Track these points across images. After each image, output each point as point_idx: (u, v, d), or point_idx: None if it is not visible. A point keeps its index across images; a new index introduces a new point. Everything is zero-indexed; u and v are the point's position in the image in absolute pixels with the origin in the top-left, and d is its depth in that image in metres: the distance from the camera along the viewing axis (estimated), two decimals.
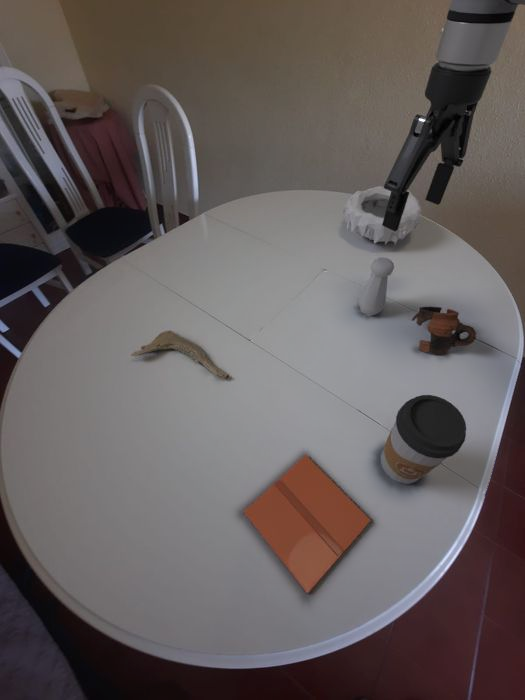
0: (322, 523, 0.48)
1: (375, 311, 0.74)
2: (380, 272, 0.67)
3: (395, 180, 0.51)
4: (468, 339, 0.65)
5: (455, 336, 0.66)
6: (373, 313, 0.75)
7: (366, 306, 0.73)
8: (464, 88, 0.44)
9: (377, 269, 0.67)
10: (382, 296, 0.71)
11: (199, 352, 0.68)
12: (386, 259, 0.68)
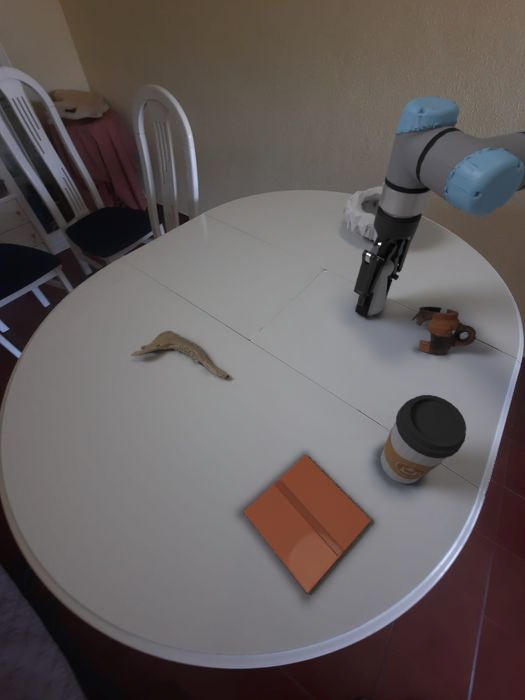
0: (322, 523, 0.48)
1: (375, 311, 0.74)
2: None
3: (360, 290, 0.67)
4: (468, 339, 0.65)
5: (455, 336, 0.66)
6: (373, 313, 0.75)
7: None
8: (400, 229, 0.58)
9: None
10: (382, 296, 0.71)
11: (199, 352, 0.68)
12: None
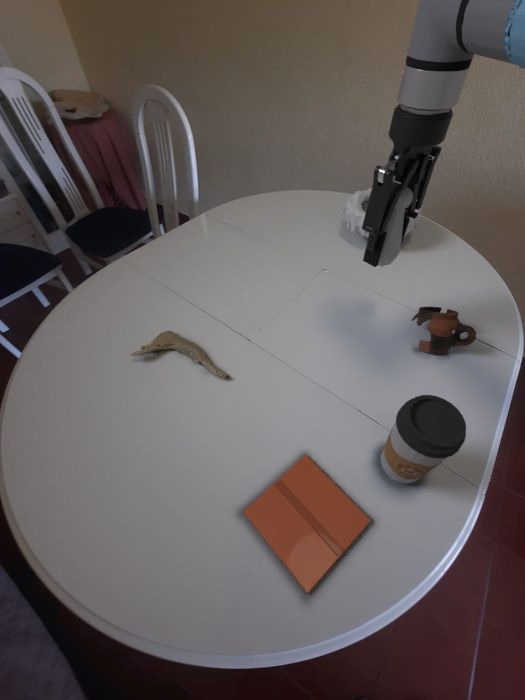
0: (322, 523, 0.48)
1: (388, 258, 0.60)
2: None
3: (370, 224, 0.53)
4: (468, 339, 0.65)
5: (455, 336, 0.66)
6: (385, 262, 0.61)
7: None
8: (425, 131, 0.44)
9: None
10: (397, 237, 0.58)
11: (199, 352, 0.68)
12: None
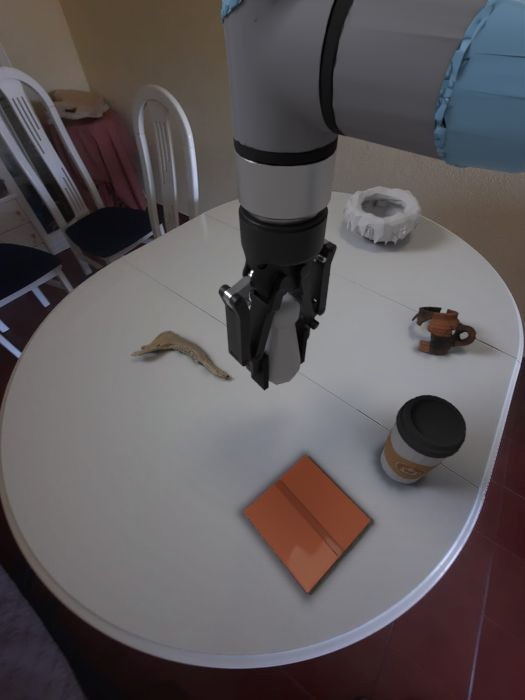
0: (322, 523, 0.48)
1: (281, 380, 0.43)
2: (273, 321, 0.36)
3: (235, 353, 0.36)
4: (468, 339, 0.65)
5: (455, 336, 0.66)
6: (280, 382, 0.44)
7: None
8: (279, 247, 0.27)
9: None
10: (288, 357, 0.41)
11: (199, 352, 0.68)
12: (286, 296, 0.37)
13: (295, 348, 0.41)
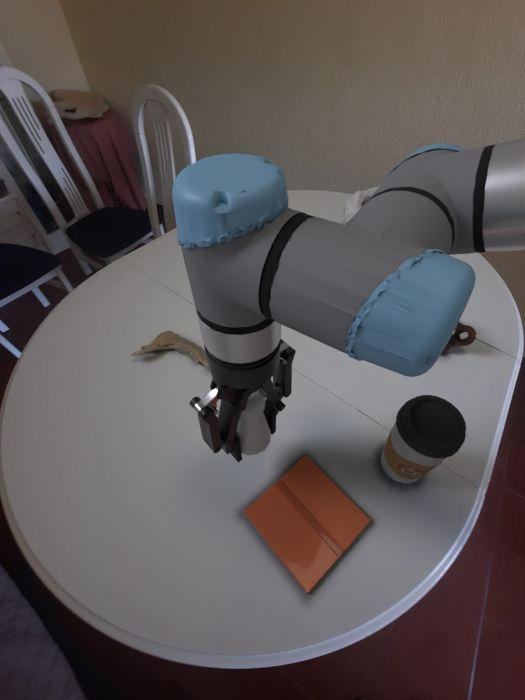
0: (322, 523, 0.48)
1: (253, 454, 0.48)
2: (241, 414, 0.41)
3: (208, 443, 0.41)
4: (468, 339, 0.65)
5: (455, 336, 0.66)
6: None
7: None
8: (238, 379, 0.32)
9: None
10: (258, 437, 0.46)
11: (199, 352, 0.68)
12: None
13: (264, 428, 0.46)
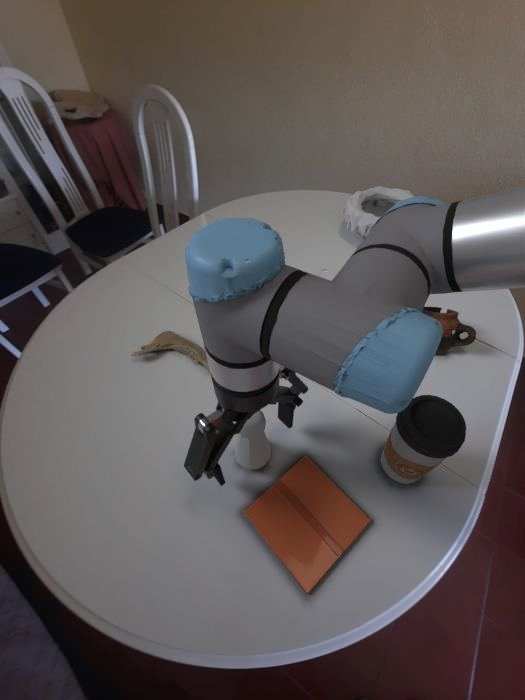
0: (322, 523, 0.48)
1: (254, 468, 0.52)
2: (244, 435, 0.45)
3: (191, 468, 0.42)
4: (468, 339, 0.65)
5: (455, 336, 0.66)
6: None
7: (240, 462, 0.52)
8: (241, 404, 0.35)
9: None
10: (259, 454, 0.50)
11: (199, 352, 0.68)
12: None
13: (264, 445, 0.50)
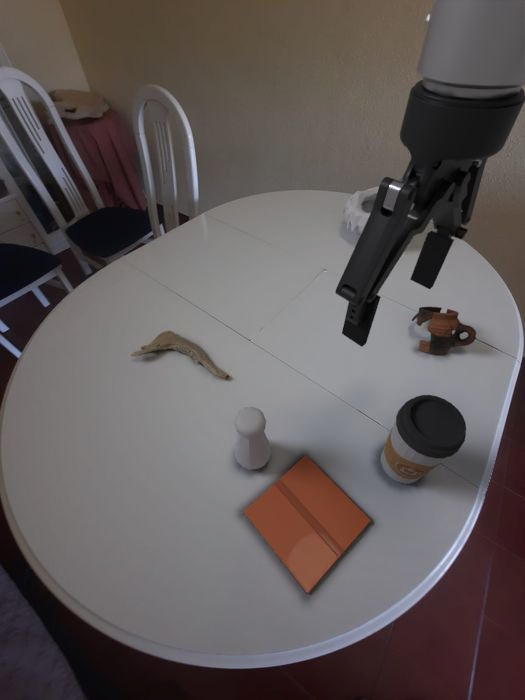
0: (322, 523, 0.48)
1: (254, 468, 0.52)
2: (244, 435, 0.45)
3: (353, 285, 0.29)
4: (468, 339, 0.65)
5: (455, 336, 0.66)
6: None
7: (240, 462, 0.52)
8: (475, 131, 0.23)
9: (239, 430, 0.45)
10: (259, 454, 0.50)
11: (199, 352, 0.68)
12: (254, 412, 0.46)
13: (264, 445, 0.50)
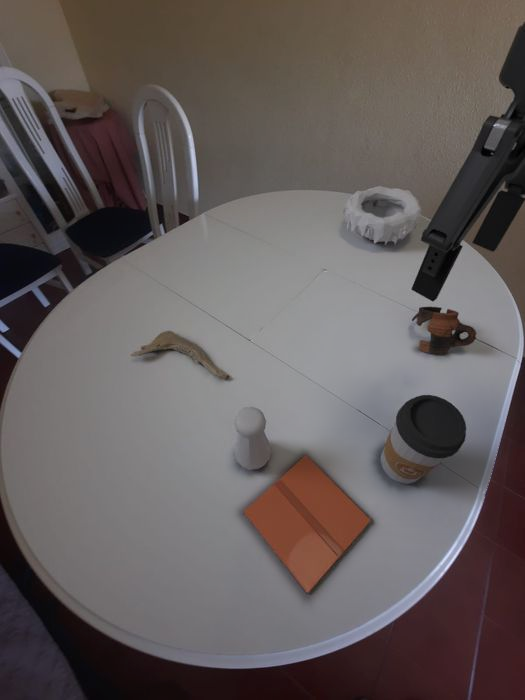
0: (322, 523, 0.48)
1: (254, 468, 0.52)
2: (244, 435, 0.45)
3: (443, 230, 0.29)
4: (468, 339, 0.65)
5: (455, 336, 0.66)
6: None
7: (240, 462, 0.52)
8: None
9: (239, 430, 0.45)
10: (259, 454, 0.50)
11: (199, 352, 0.68)
12: (254, 412, 0.46)
13: (264, 445, 0.50)
